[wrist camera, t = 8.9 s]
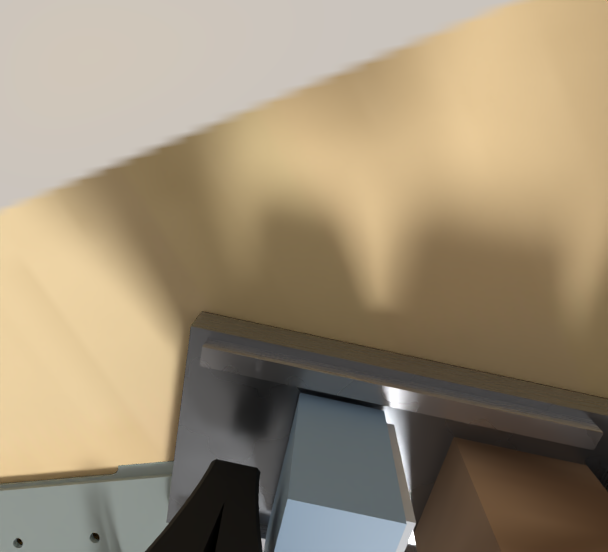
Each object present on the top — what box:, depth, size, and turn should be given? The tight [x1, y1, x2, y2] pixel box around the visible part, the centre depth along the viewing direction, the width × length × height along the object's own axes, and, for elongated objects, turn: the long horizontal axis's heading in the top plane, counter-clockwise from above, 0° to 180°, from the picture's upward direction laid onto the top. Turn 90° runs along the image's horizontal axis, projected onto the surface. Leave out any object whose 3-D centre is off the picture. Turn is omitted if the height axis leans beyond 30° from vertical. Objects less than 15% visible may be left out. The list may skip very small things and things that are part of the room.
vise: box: [166, 312, 608, 552], centre depth 11 cm, size 15×8×5 cm, turn 78°
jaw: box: [264, 393, 416, 552], centre depth 10 cm, size 3×5×4 cm, turn 168°
